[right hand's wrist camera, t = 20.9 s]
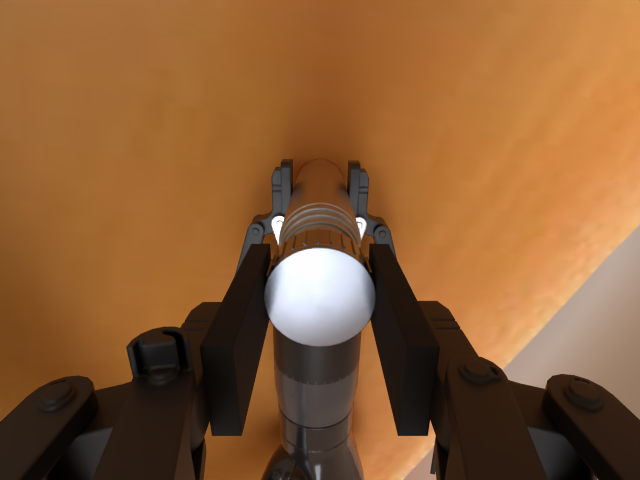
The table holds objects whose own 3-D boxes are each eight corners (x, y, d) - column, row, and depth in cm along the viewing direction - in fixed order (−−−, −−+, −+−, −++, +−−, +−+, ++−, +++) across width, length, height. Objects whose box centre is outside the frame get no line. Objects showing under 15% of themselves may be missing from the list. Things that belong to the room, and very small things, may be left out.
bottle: (288, 172, 33) (241, 270, 13) (329, 150, 32) (345, 219, 12) (310, 211, 34) (297, 354, 14) (350, 191, 33) (394, 312, 14)
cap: (389, 286, 15) (400, 312, 13) (308, 335, 16) (307, 365, 14) (333, 207, 14) (335, 222, 12) (248, 265, 14) (237, 287, 13)
